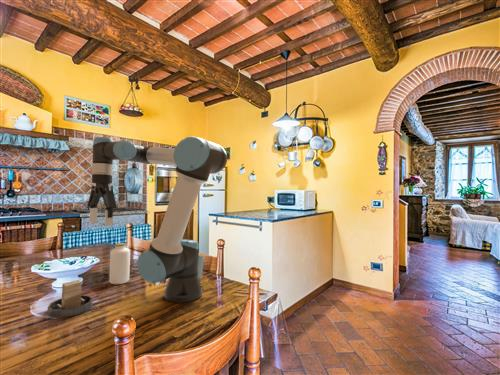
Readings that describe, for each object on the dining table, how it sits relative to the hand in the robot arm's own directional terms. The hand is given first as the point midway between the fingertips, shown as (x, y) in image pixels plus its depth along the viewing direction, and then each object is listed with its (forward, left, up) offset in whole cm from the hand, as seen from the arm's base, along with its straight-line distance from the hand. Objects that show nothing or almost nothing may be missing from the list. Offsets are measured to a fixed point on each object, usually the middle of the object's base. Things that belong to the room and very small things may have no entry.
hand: (100, 224), depth 109 cm
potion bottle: (+6, -12, -29) cm, 32 cm away
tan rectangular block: (-8, +13, -28) cm, 32 cm away
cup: (-18, -38, -29) cm, 51 cm away
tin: (-8, +13, -29) cm, 33 cm away
